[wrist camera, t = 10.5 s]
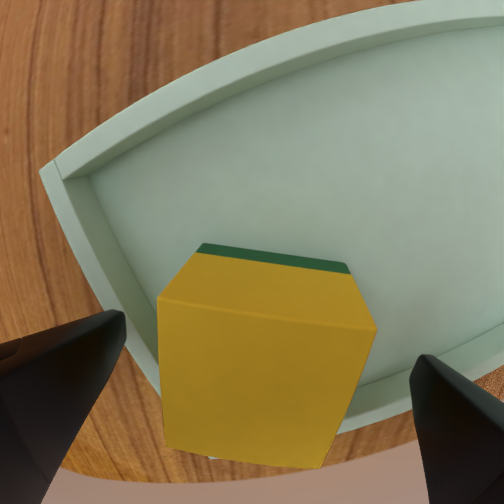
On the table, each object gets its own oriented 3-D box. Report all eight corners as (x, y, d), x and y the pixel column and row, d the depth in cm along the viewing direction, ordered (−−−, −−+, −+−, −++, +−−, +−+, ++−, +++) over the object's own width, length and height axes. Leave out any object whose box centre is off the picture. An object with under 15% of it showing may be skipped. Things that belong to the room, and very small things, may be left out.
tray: (218, 427, 13) (210, 459, 11) (72, 165, 10) (37, 171, 8) (582, 274, 9) (605, 290, 7) (527, 10, 6) (553, -2, 4)
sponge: (313, 385, 11) (320, 469, 8) (195, 368, 12) (164, 447, 8) (346, 262, 10) (379, 328, 6) (202, 241, 10) (155, 297, 6)
